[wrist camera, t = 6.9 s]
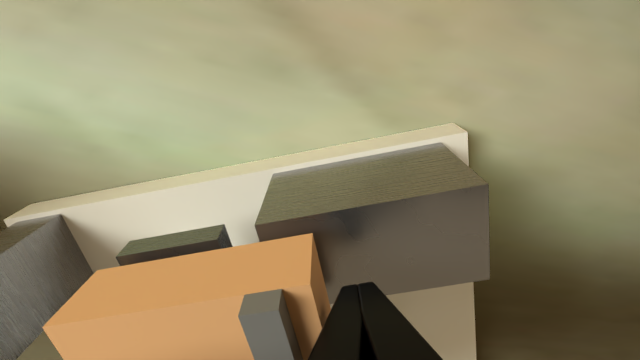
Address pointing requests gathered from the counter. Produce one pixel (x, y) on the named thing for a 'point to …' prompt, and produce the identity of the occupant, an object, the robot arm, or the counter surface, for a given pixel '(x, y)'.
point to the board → (240, 216)
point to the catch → (200, 307)
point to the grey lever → (174, 245)
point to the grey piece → (292, 220)
